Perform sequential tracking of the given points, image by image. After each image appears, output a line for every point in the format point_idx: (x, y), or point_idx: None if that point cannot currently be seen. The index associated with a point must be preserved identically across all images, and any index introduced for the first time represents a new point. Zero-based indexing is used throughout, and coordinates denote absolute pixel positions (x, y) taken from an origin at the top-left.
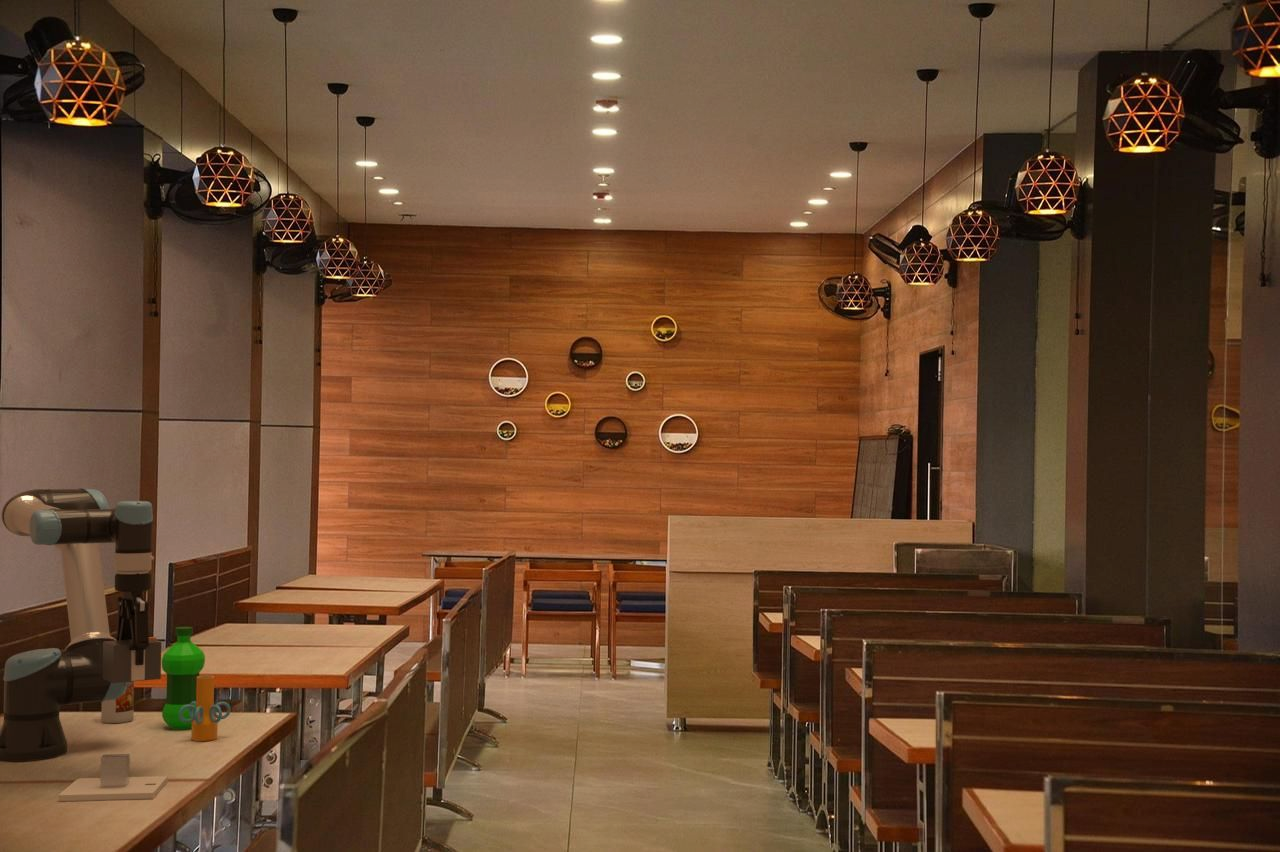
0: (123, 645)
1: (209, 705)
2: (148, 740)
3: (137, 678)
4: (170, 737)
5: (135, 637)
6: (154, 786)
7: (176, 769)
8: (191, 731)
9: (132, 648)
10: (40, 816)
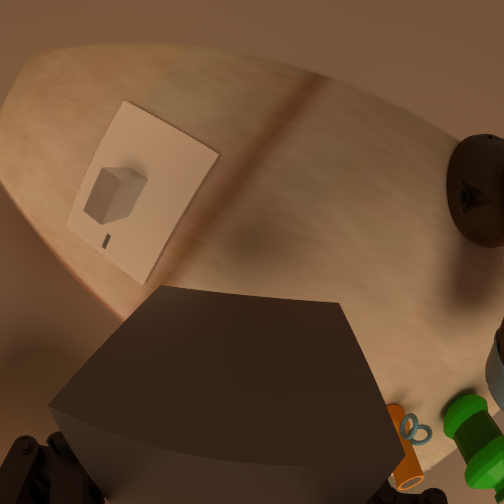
0: (75, 450)
1: None
2: (441, 361)
3: None
4: (431, 386)
5: (20, 483)
6: (93, 241)
7: None
8: (400, 411)
9: (52, 440)
10: (79, 76)
